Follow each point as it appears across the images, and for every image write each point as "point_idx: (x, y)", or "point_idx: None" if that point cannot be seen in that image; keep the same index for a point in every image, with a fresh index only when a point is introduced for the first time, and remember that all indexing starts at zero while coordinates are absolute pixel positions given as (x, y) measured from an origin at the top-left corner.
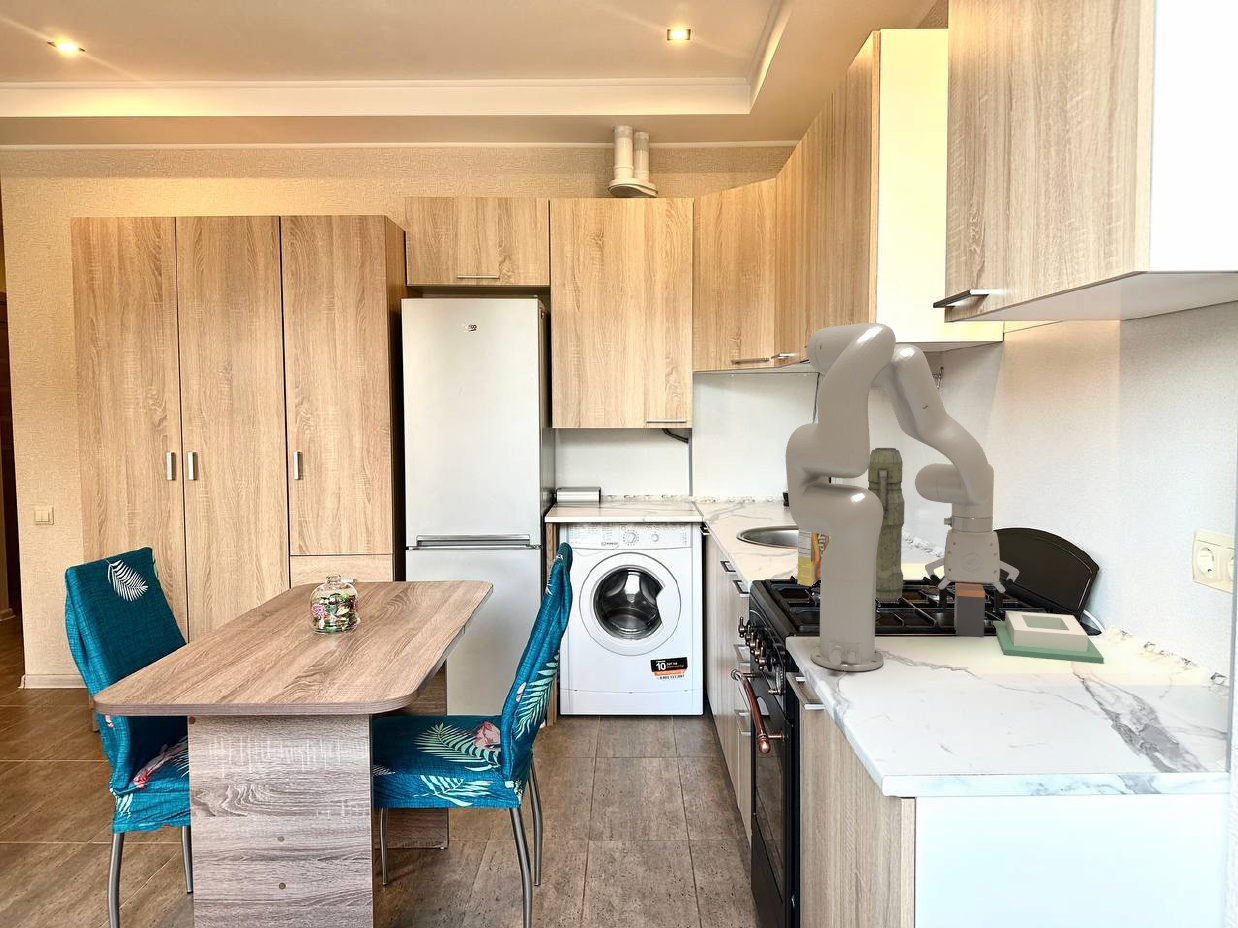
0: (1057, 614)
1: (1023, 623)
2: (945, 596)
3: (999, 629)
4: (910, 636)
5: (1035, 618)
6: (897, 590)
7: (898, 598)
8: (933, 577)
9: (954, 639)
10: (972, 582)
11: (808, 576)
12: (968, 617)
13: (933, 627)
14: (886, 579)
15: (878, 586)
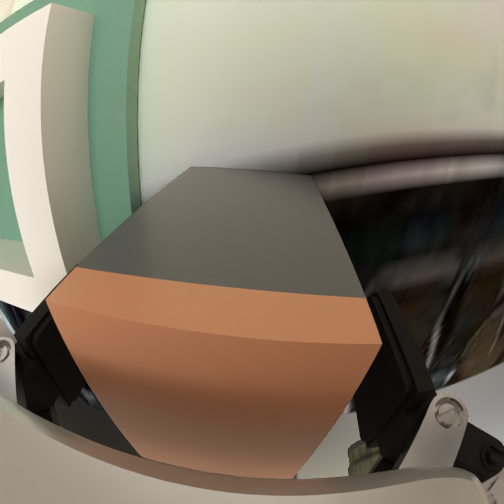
0: None
1: (9, 137)
2: (406, 347)
3: None
4: (482, 138)
5: (12, 265)
6: (370, 455)
7: (364, 441)
8: (498, 457)
9: (330, 103)
10: (152, 465)
11: None
12: (251, 199)
13: (376, 272)
14: None
15: None
